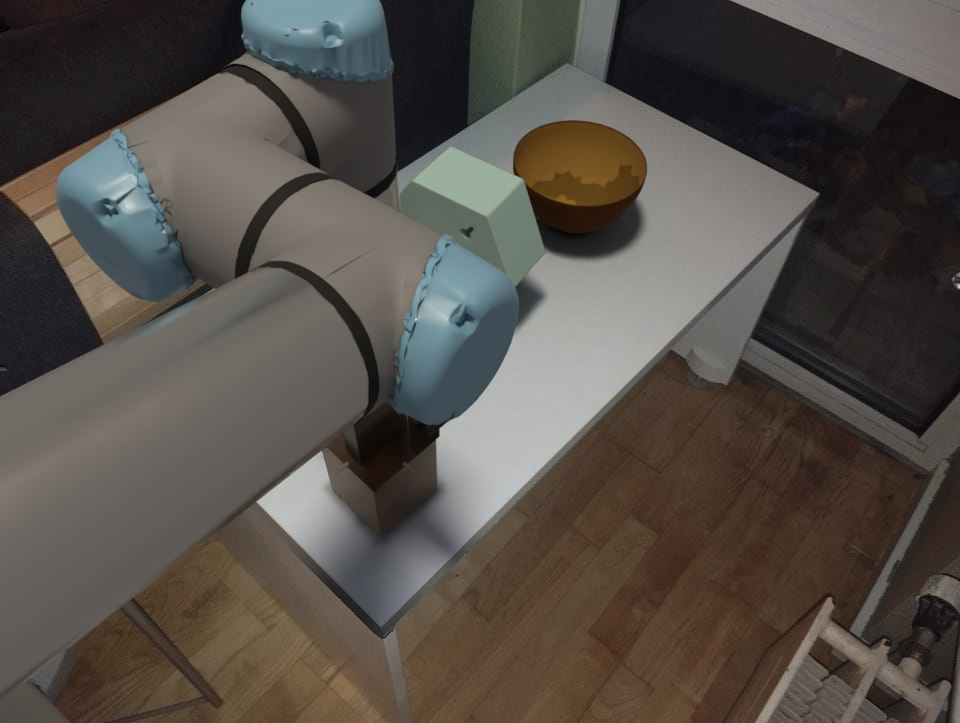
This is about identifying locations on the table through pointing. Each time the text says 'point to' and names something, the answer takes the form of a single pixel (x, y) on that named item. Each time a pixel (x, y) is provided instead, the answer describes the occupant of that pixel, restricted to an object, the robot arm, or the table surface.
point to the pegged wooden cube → (383, 480)
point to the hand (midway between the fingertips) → (372, 397)
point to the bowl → (579, 174)
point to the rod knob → (374, 432)
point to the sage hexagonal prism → (477, 210)
